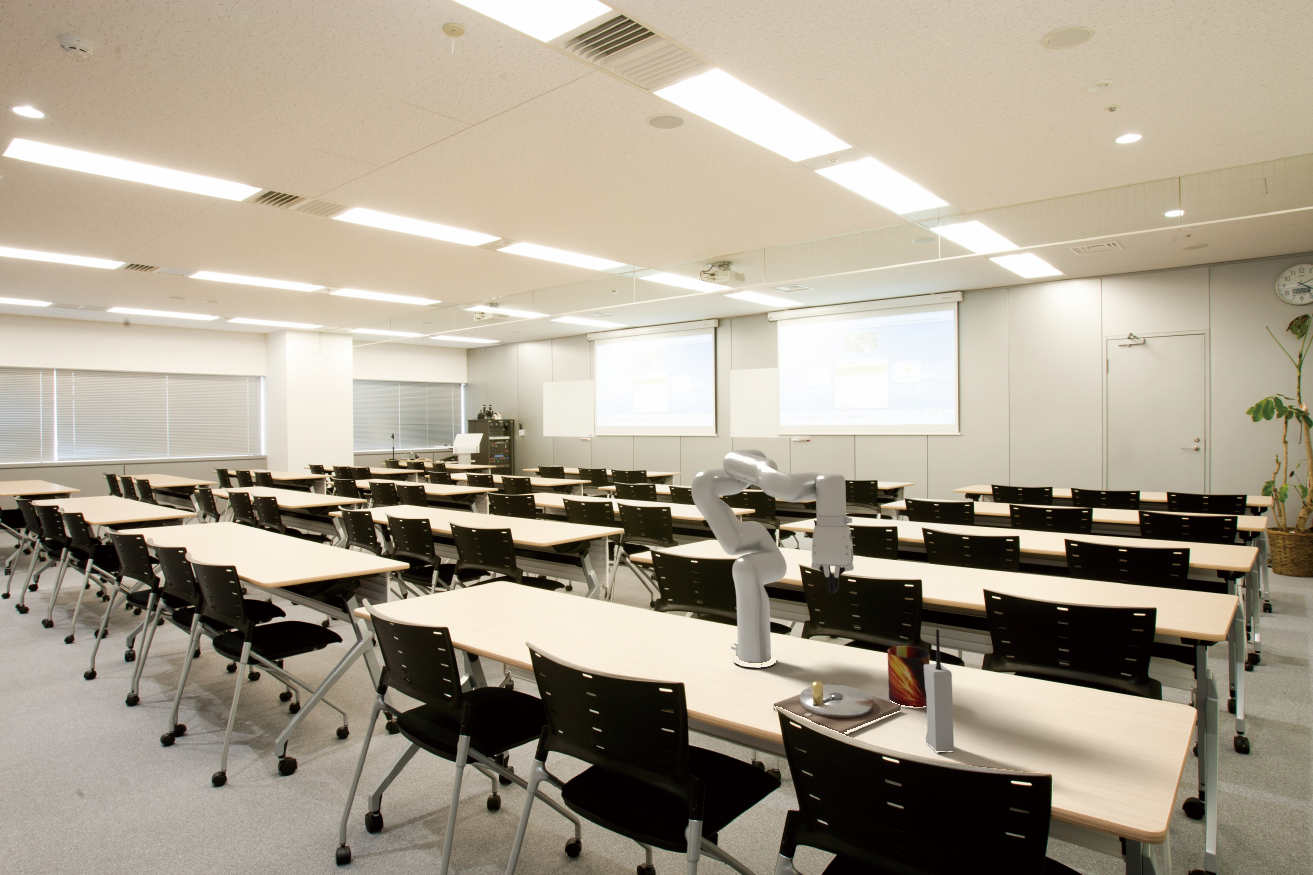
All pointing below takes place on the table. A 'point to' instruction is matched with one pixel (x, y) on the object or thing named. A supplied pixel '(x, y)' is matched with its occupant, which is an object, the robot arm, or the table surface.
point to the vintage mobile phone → (939, 704)
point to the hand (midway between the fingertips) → (832, 591)
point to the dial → (836, 701)
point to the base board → (840, 724)
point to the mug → (907, 675)
